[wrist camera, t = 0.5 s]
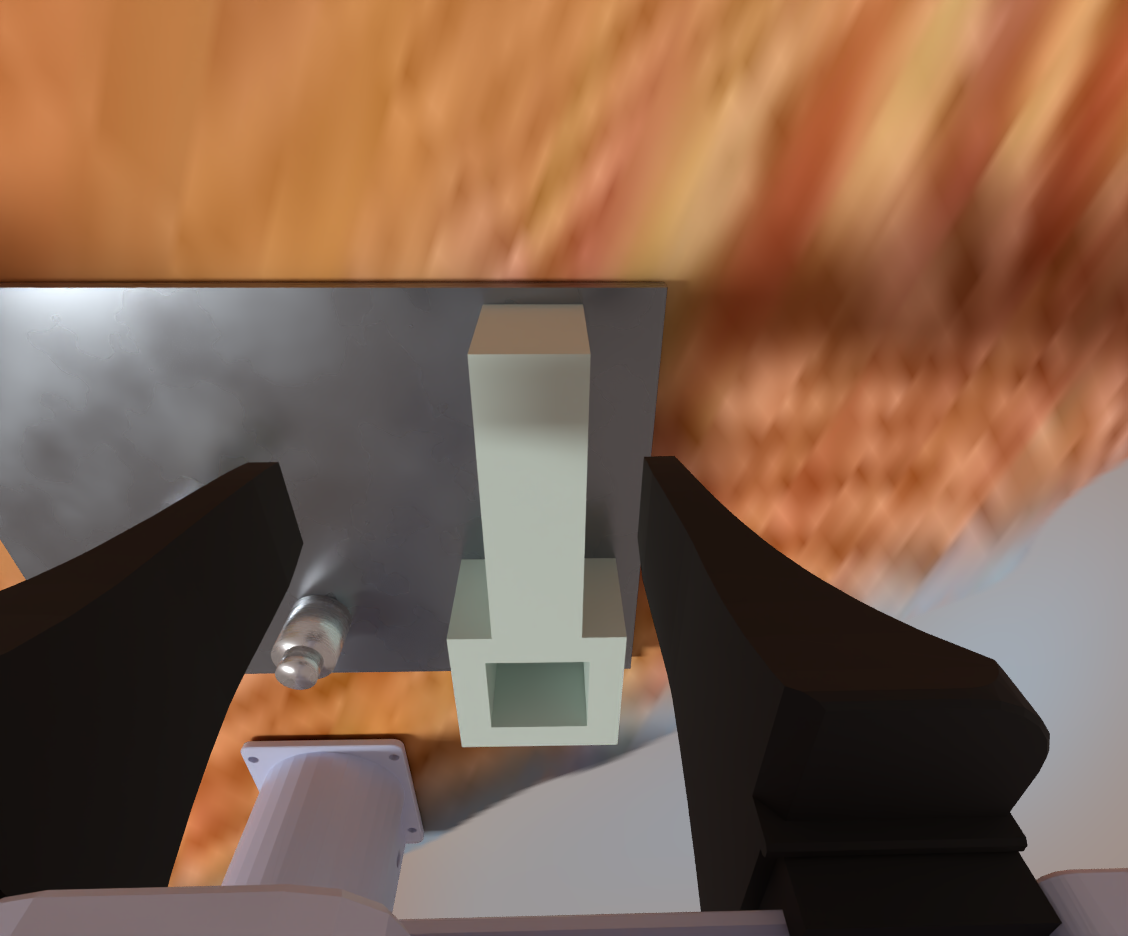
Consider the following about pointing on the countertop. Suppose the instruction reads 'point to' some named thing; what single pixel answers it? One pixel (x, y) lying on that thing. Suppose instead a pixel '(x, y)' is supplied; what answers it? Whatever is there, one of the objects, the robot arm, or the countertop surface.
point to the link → (534, 545)
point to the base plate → (304, 430)
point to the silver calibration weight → (310, 641)
